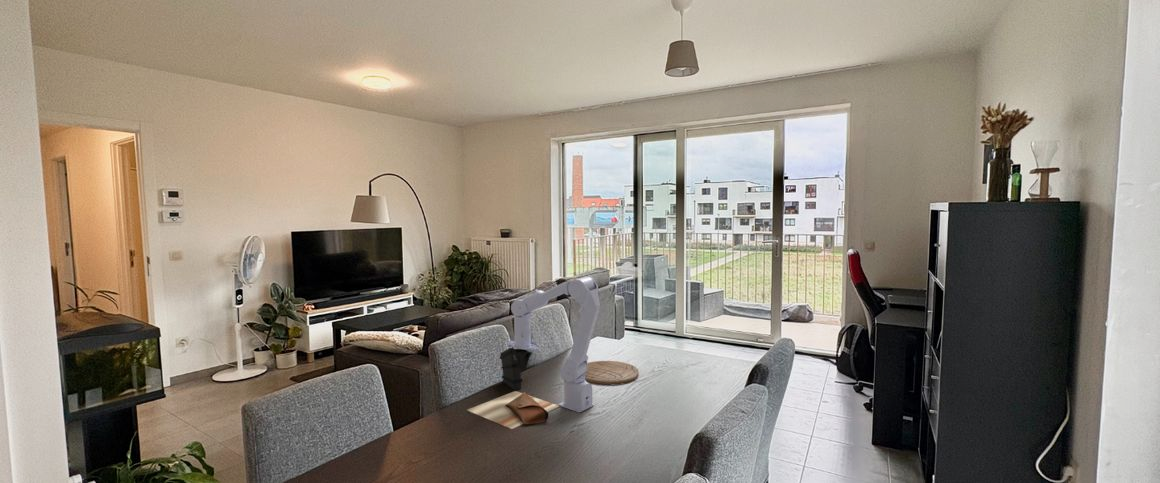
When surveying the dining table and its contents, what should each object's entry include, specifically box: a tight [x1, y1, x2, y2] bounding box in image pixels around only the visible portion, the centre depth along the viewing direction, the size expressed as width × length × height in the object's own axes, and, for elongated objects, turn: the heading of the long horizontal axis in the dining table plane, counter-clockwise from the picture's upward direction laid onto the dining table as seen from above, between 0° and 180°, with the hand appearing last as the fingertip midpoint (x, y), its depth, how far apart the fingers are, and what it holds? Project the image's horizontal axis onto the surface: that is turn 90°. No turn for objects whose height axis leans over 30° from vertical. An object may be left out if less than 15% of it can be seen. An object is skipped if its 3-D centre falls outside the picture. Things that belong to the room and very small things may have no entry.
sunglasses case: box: [505, 391, 549, 425], centre depth 156 cm, size 18×7×7 cm
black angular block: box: [499, 347, 523, 391], centre depth 182 cm, size 4×13×15 cm, turn 32°
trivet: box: [585, 360, 640, 386], centre depth 194 cm, size 25×25×2 cm
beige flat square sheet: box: [466, 390, 561, 430], centre depth 160 cm, size 22×22×1 cm
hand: (522, 369), depth 171 cm, fingers closed
